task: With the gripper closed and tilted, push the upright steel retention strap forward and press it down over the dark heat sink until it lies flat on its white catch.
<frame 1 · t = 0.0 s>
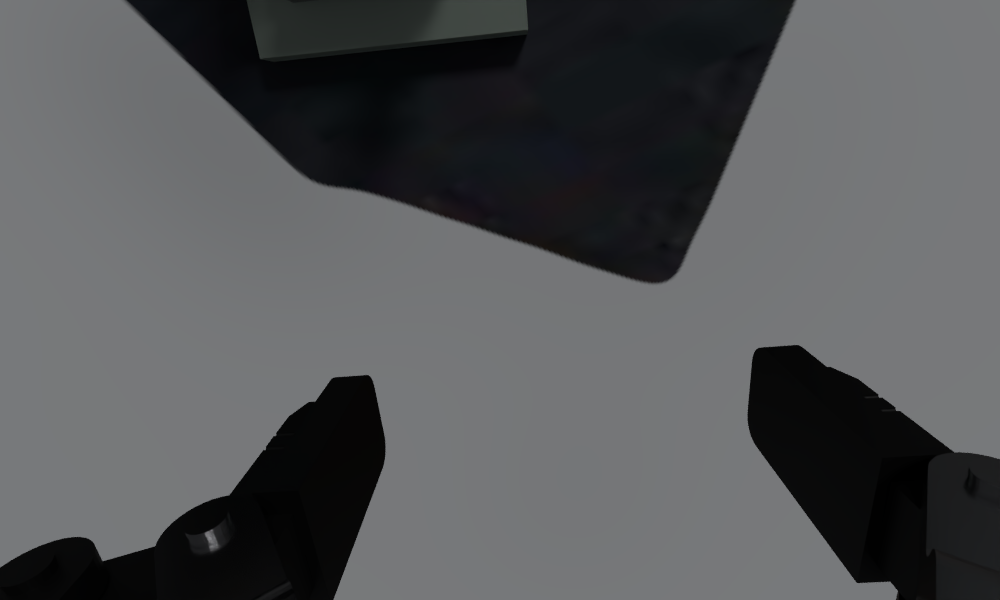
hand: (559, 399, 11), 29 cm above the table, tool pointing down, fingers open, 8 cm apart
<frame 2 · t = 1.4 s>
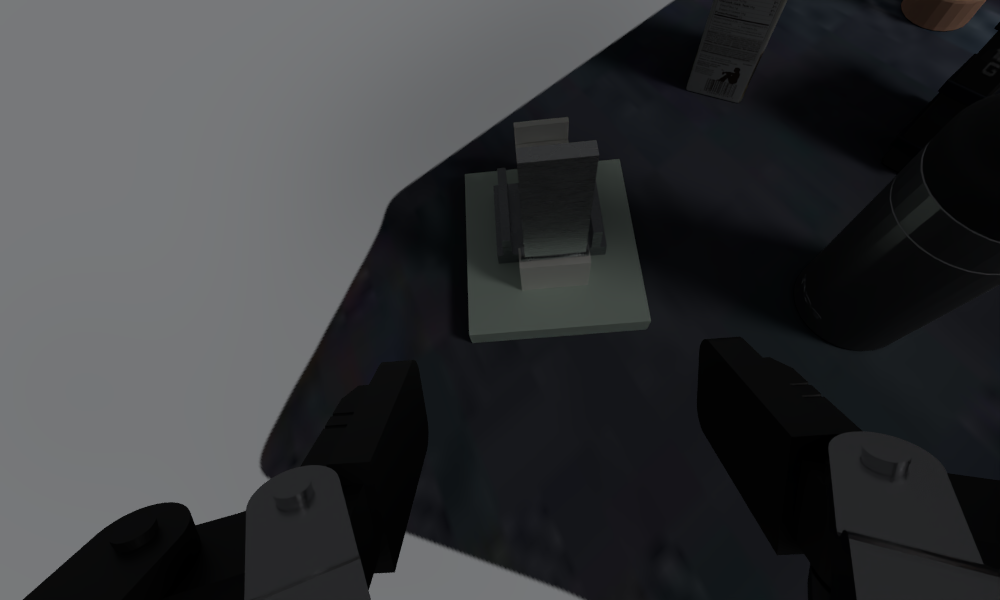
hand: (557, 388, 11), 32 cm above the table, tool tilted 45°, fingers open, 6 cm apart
grey square stand: (549, 251, 50), on the table
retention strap: (555, 211, 36), point 13 cm above the table, hinge at 0.0°
coffee box: (721, 72, 58), on the table
pepper shaker: (933, 12, 59), on the table
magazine: (925, 135, 52), on the table
heat sink: (547, 234, 50), resting on grey square stand
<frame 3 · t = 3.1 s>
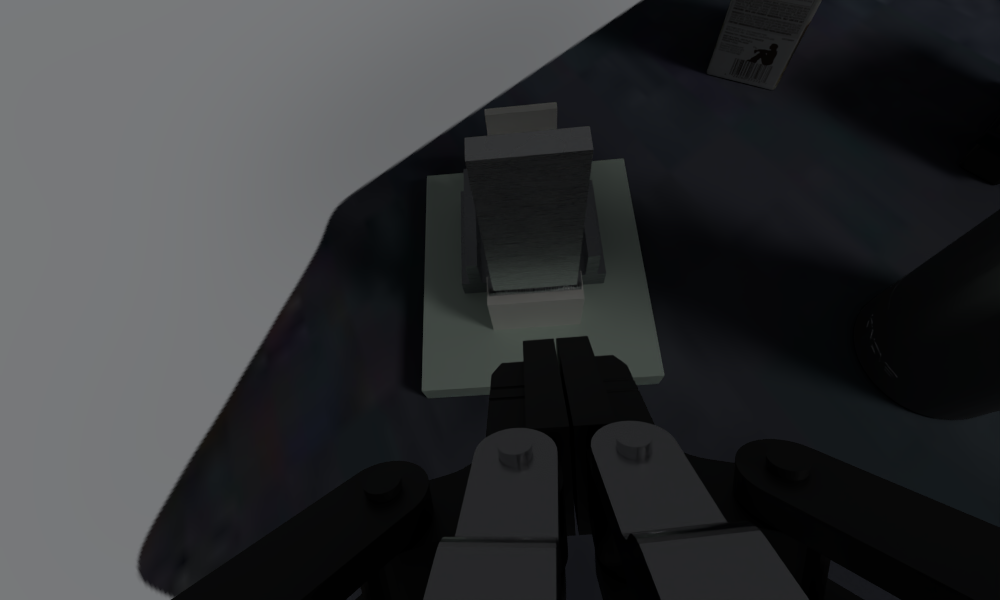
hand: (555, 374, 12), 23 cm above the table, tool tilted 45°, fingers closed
grey square stand: (532, 276, 39), on the table
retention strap: (531, 231, 25), point 13 cm above the table, hinge at 0.0°
coffee box: (750, 52, 47), on the table
heat sink: (530, 254, 39), resting on grey square stand
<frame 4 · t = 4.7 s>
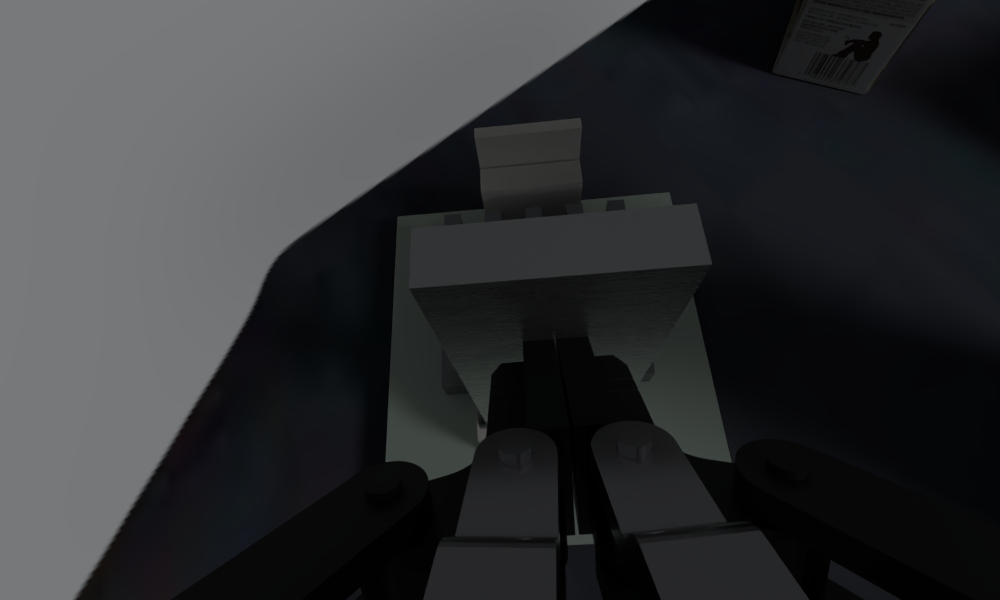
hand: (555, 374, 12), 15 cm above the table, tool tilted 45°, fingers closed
grey square stand: (544, 361, 27), on the table
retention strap: (552, 360, 14), point 13 cm above the table, hinge at 0.3°, touching gripper
coffee box: (828, 44, 35), on the table
heat sink: (541, 327, 28), resting on grey square stand
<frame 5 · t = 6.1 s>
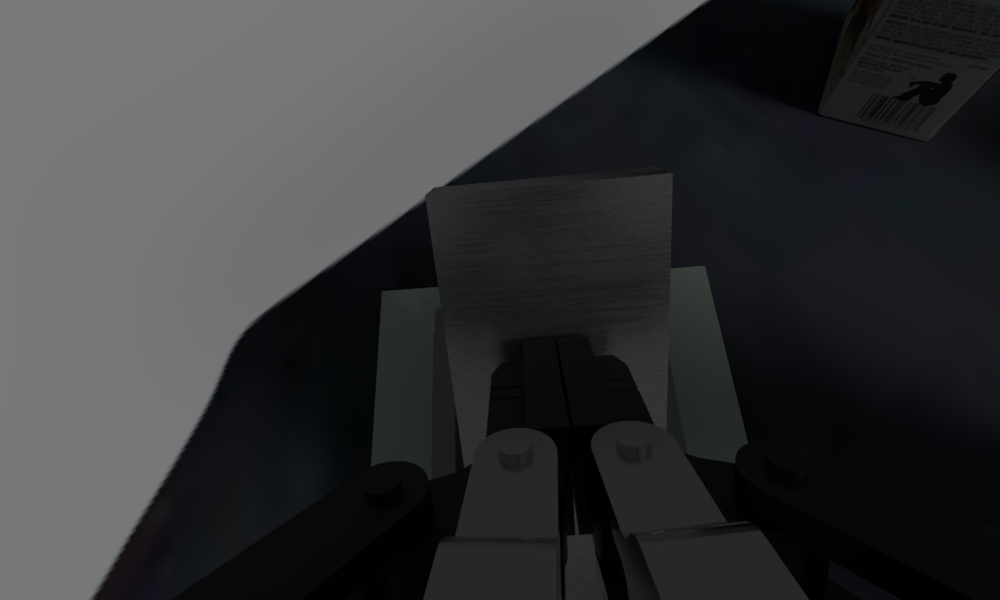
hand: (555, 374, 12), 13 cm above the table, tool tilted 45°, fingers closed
grey square stand: (555, 474, 23), on the table
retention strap: (560, 432, 13), point 11 cm above the table, hinge at 45.2°, touching gripper
coffee box: (880, 80, 31), on the table
heat sink: (552, 429, 24), resting on grey square stand
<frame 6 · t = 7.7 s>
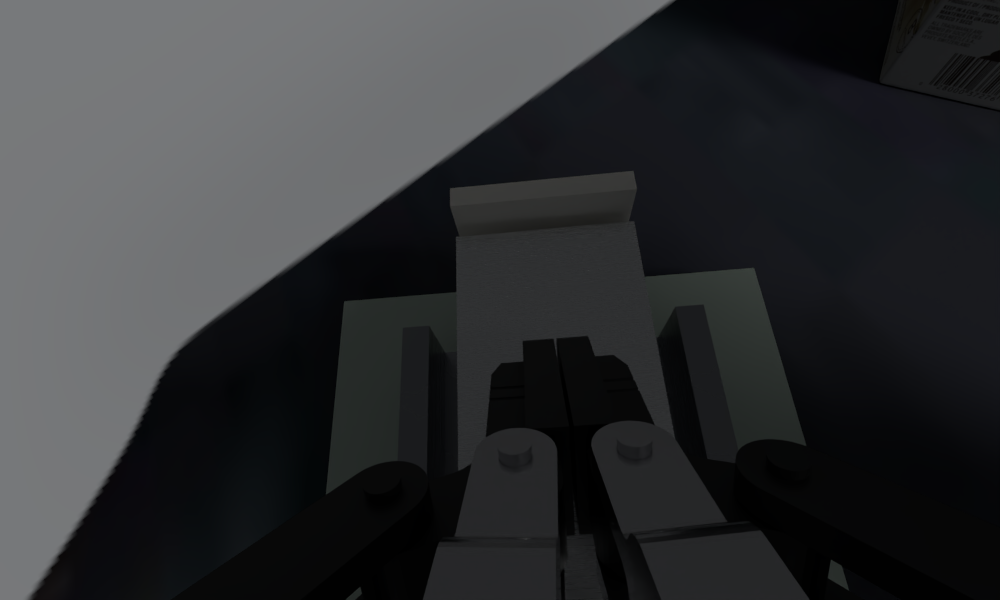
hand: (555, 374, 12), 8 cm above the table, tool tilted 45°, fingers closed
grey square stand: (565, 539, 18), on the table
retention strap: (566, 468, 12), point 7 cm above the table, hinge at 90.1°, touching grey square stand, gripper
coffee box: (952, 42, 26), on the table
heat sink: (559, 478, 18), resting on grey square stand
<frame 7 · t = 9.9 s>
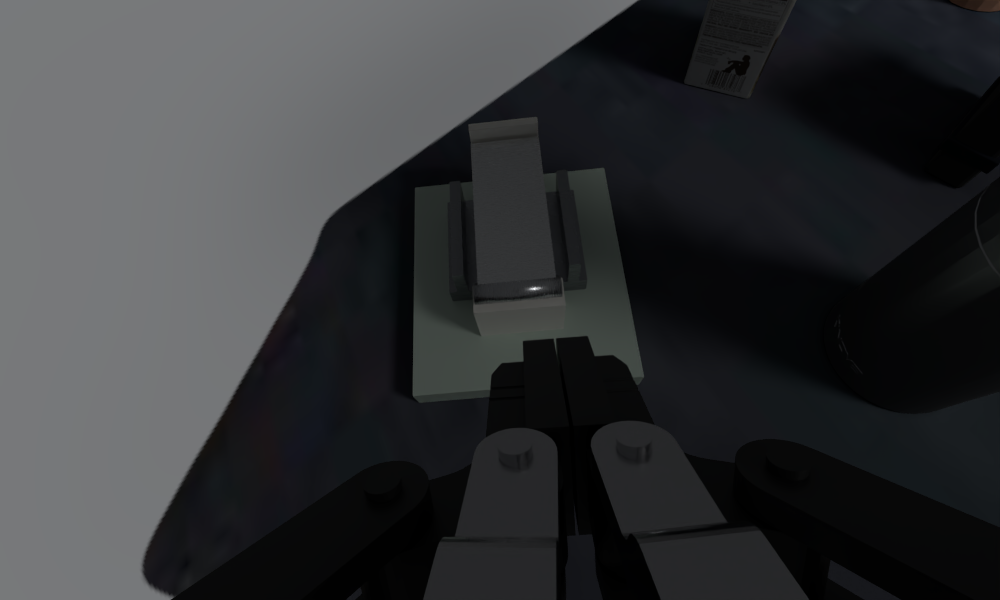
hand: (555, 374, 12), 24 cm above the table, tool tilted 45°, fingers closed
grey square stand: (518, 283, 40), on the table
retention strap: (511, 216, 34), point 7 cm above the table, hinge at 90.1°, touching grey square stand
coffee box: (725, 62, 48), on the table
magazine: (976, 136, 43), on the table
heat sink: (516, 261, 41), resting on grey square stand
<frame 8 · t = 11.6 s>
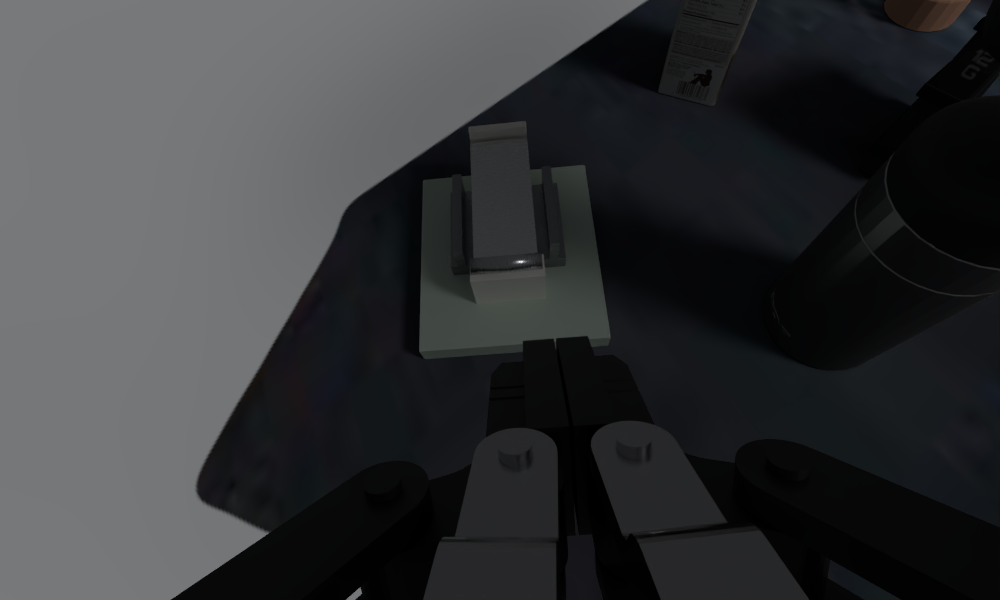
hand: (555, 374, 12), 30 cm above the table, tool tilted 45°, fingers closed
grey square stand: (509, 262, 47), on the table
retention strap: (502, 203, 42), point 7 cm above the table, hinge at 90.1°, touching grey square stand
coffee box: (695, 73, 55), on the table
pepper shaker: (918, 11, 56), on the table
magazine: (906, 141, 49), on the table
heat sink: (508, 243, 48), resting on grey square stand
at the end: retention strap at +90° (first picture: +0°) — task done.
